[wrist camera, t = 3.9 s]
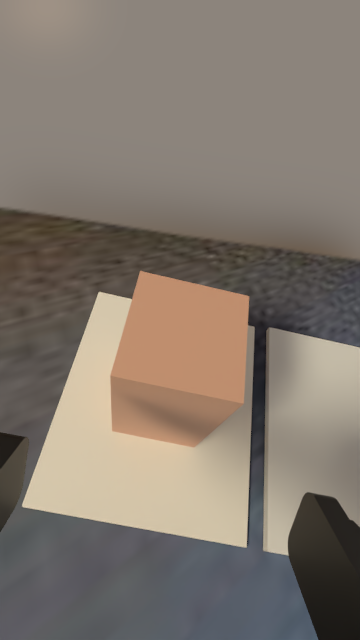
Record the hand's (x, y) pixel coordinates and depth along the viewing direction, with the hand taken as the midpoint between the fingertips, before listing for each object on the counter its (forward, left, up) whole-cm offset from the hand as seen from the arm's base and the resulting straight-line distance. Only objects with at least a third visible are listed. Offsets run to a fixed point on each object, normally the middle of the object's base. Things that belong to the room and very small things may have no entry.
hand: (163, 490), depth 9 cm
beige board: (-13, -6, -10) cm, 18 cm away
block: (0, -6, -10) cm, 12 cm away
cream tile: (0, -6, -10) cm, 12 cm away
